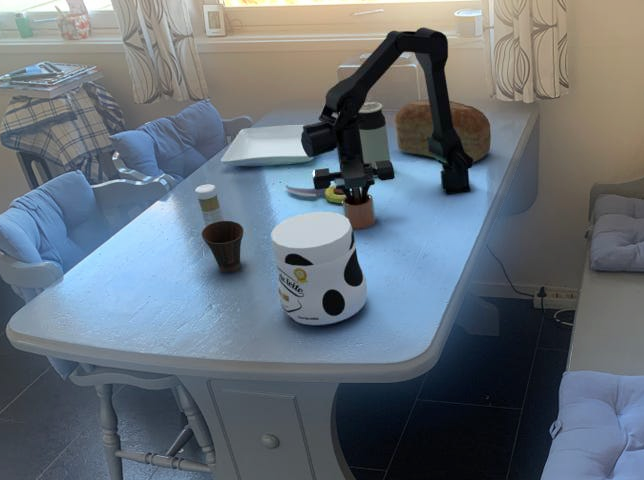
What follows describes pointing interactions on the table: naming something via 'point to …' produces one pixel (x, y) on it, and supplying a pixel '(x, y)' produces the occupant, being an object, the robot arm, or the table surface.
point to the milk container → (318, 269)
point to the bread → (418, 126)
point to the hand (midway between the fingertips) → (358, 208)
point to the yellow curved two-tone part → (330, 193)
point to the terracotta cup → (359, 213)
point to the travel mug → (373, 134)
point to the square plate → (267, 147)
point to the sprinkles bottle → (209, 204)
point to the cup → (225, 243)
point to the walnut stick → (356, 196)
